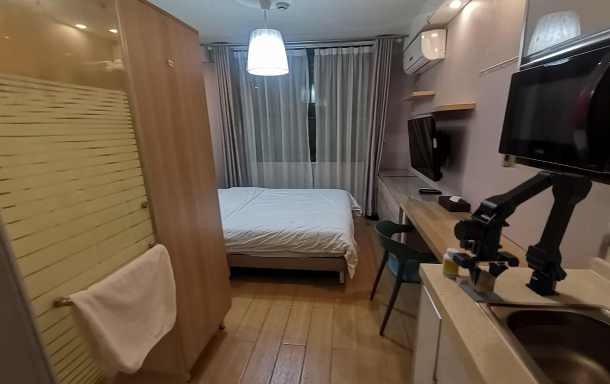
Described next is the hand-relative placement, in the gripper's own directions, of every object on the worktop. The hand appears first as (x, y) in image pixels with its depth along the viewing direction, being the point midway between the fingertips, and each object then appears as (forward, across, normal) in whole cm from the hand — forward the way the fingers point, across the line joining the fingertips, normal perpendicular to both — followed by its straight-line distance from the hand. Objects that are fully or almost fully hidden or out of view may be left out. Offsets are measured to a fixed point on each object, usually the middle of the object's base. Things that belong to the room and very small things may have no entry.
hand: (481, 283), depth 90 cm
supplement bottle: (+4, +3, -12) cm, 13 cm away
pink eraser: (+4, +1, -6) cm, 8 cm away
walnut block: (+2, 0, 0) cm, 2 cm away
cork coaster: (+4, -5, -9) cm, 11 cm away
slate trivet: (+4, 0, 0) cm, 4 cm away
